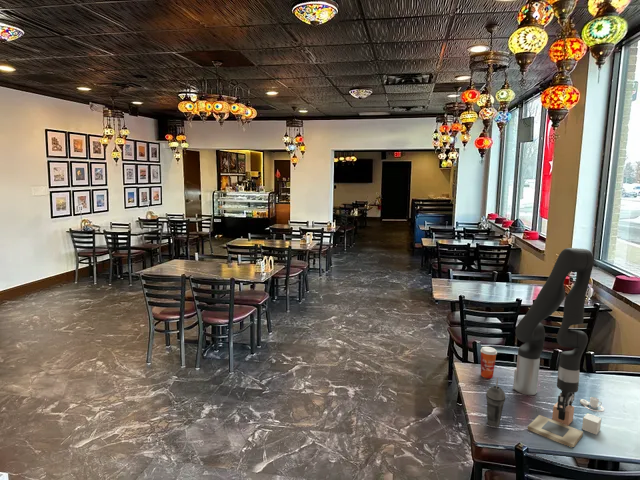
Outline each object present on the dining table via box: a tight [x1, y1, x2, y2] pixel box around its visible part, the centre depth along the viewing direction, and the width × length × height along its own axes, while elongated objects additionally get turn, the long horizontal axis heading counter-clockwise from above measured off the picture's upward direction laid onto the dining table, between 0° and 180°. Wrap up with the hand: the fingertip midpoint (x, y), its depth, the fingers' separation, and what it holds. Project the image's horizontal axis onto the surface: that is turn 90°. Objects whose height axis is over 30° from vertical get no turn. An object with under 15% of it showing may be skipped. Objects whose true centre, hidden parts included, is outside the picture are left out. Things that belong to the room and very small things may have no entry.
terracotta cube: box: [551, 401, 575, 426], centre depth 175 cm, size 6×6×6 cm
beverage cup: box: [485, 377, 507, 428], centre depth 170 cm, size 7×7×20 cm
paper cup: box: [479, 346, 498, 379], centre depth 213 cm, size 8×8×14 cm
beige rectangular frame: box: [527, 414, 584, 448], centre depth 166 cm, size 16×12×2 cm
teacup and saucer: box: [579, 396, 605, 413], centre depth 186 cm, size 9×8×4 cm
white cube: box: [581, 413, 602, 435], centre depth 169 cm, size 5×5×5 cm
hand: (564, 415), depth 175 cm, fingers open, 8 cm apart
